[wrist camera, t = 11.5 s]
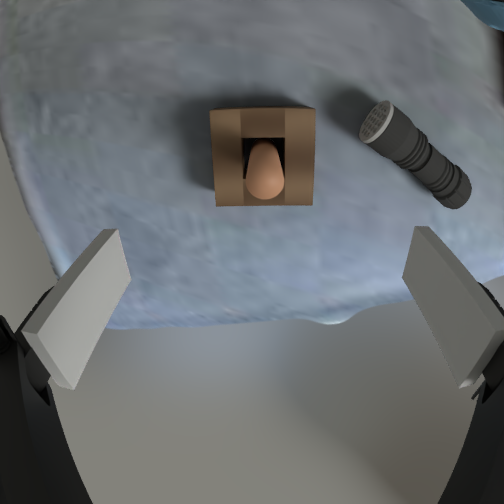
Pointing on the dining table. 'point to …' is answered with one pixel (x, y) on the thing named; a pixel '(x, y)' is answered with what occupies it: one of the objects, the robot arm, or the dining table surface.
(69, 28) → the dining table surface
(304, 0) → the dining table surface
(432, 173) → the flashlight
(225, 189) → the socket block
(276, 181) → the peg
